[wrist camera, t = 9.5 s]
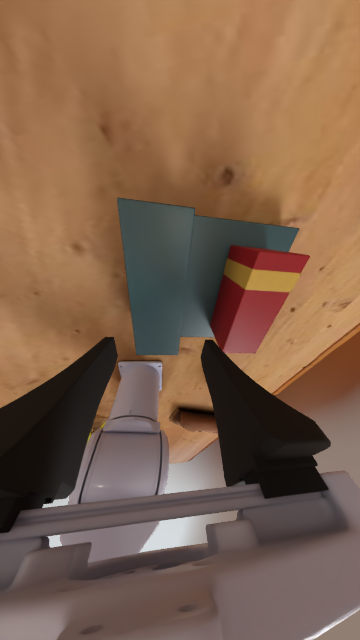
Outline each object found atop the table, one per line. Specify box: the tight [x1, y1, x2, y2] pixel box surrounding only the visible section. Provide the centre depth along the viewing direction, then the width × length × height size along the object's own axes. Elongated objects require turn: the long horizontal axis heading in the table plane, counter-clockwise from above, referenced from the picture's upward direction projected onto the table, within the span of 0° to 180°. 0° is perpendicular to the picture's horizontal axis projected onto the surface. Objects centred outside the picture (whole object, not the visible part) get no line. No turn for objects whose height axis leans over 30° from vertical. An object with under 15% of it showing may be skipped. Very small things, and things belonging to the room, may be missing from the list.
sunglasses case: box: [170, 409, 218, 433], centre depth 39 cm, size 18×7×7 cm, turn 66°
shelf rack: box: [117, 198, 299, 355], centre depth 15 cm, size 14×16×6 cm
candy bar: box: [210, 245, 310, 353], centre depth 14 cm, size 10×4×5 cm, turn 175°
